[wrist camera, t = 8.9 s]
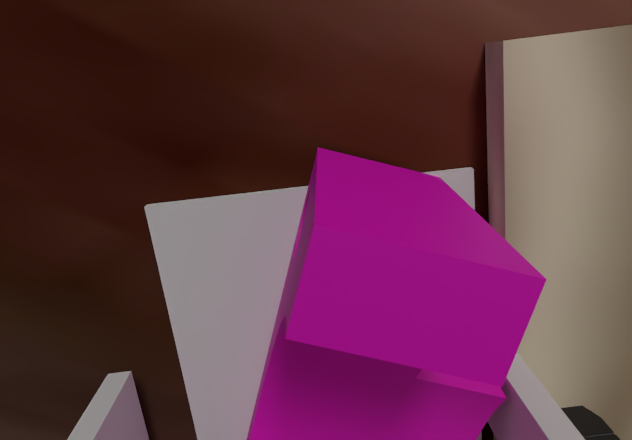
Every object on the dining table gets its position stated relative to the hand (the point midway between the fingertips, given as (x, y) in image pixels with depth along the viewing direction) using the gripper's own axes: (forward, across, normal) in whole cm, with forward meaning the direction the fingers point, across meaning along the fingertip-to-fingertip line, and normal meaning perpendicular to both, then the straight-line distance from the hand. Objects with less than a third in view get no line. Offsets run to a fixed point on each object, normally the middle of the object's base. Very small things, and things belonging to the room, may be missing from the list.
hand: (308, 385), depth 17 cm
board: (0, +10, +2) cm, 10 cm away
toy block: (+1, +2, 0) cm, 2 cm away
